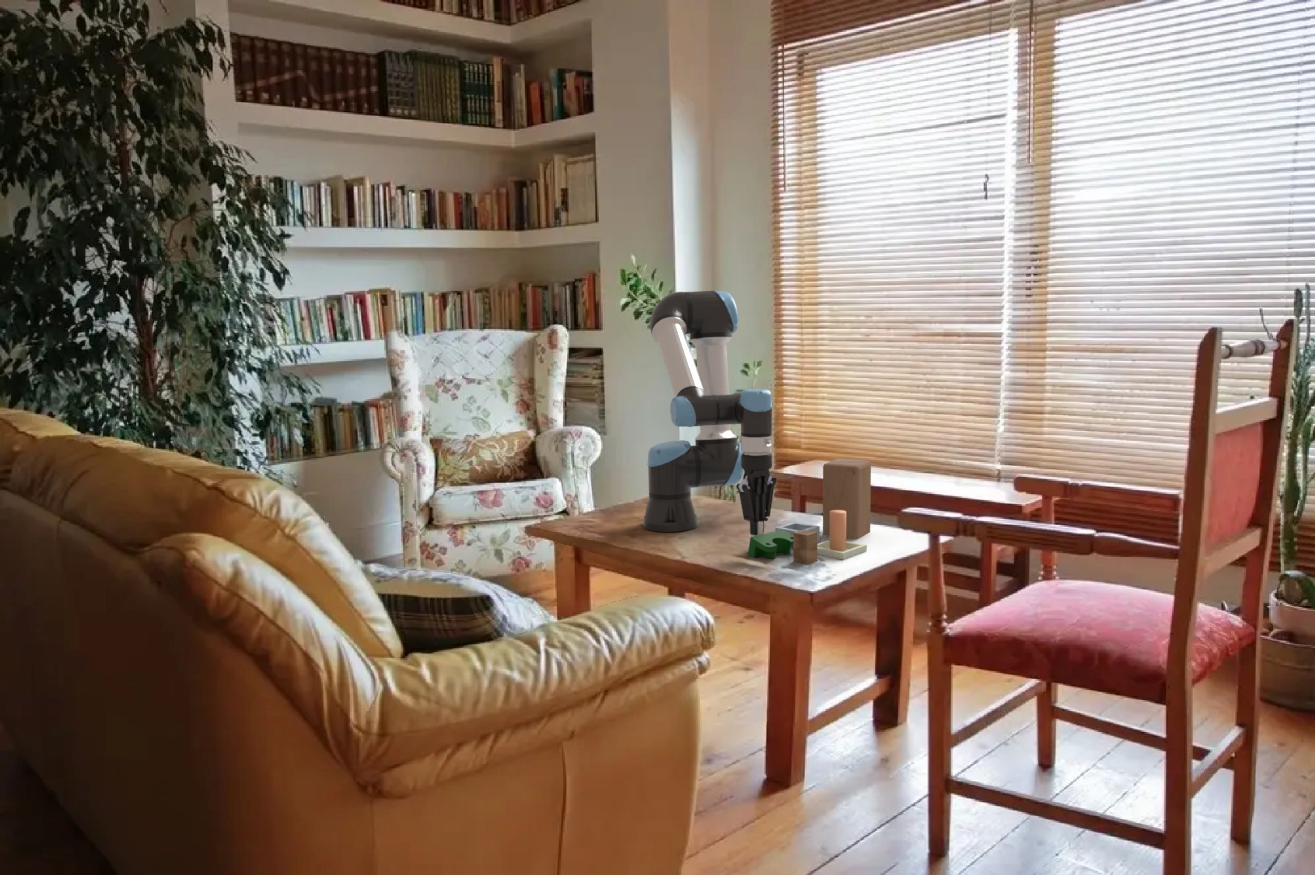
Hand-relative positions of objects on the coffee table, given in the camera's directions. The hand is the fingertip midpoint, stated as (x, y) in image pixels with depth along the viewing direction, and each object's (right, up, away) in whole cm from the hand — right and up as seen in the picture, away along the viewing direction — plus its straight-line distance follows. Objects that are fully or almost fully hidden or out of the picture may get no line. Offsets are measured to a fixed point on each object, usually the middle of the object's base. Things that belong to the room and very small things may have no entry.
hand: (757, 546), depth 255 cm
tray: (+20, -2, -2) cm, 20 cm away
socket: (+11, -1, +8) cm, 14 cm away
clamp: (+4, -3, -3) cm, 6 cm away
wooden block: (+25, +1, +16) cm, 30 cm away
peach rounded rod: (+20, -1, -2) cm, 20 cm away
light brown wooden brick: (+10, -3, -10) cm, 15 cm away
